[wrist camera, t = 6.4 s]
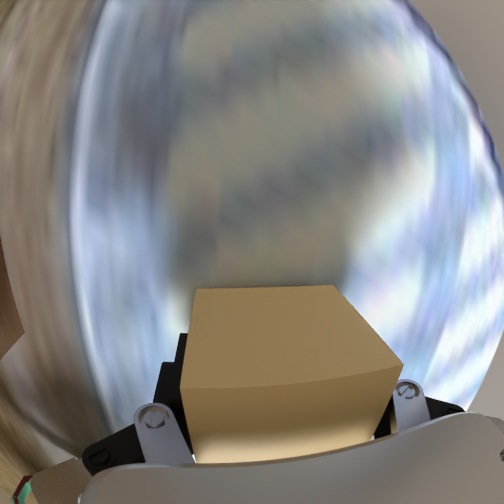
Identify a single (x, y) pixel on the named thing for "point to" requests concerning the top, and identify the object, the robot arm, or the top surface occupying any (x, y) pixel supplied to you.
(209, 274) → the top surface
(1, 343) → the walnut block
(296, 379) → the ochre cube
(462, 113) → the top surface
